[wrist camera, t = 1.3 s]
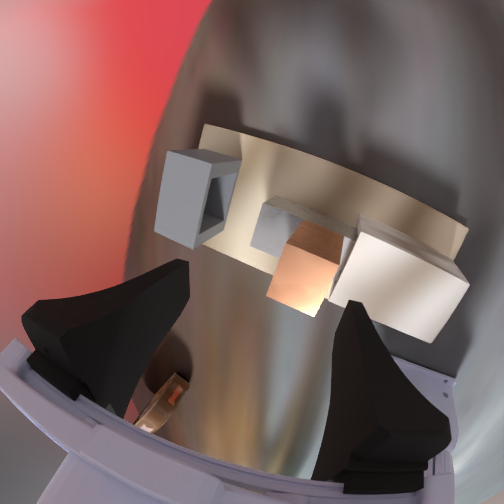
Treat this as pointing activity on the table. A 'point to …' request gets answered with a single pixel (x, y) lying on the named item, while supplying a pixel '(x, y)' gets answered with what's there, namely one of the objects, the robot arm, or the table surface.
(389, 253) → the tube stand
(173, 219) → the socket
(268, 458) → the table surface
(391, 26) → the table surface
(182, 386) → the tin
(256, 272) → the table surface
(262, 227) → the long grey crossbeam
